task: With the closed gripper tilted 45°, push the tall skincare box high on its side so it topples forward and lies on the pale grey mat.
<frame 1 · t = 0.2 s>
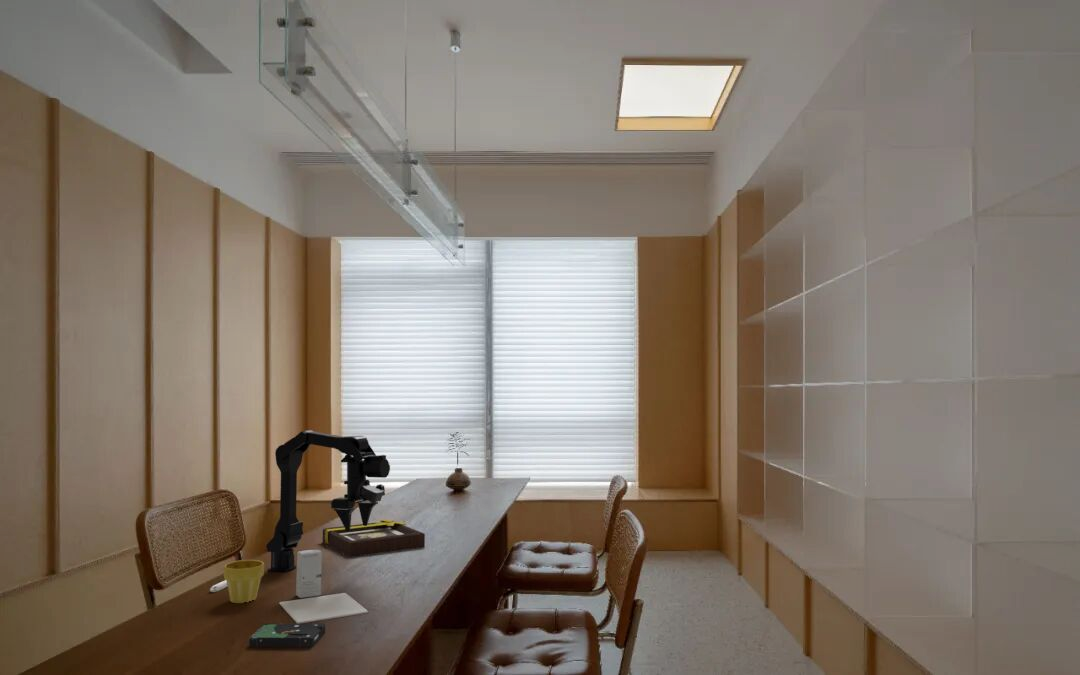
hand: (356, 528, 238), 15 cm above the table, tool pointing down, fingers open, 9 cm apart
marker: (228, 586, 228), on the table
plant pot: (243, 600, 213), on the table
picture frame: (374, 546, 284), on the table
disk drive: (287, 642, 181), on the table
skincare box: (308, 595, 218), on the table
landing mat: (322, 608, 205), on the table
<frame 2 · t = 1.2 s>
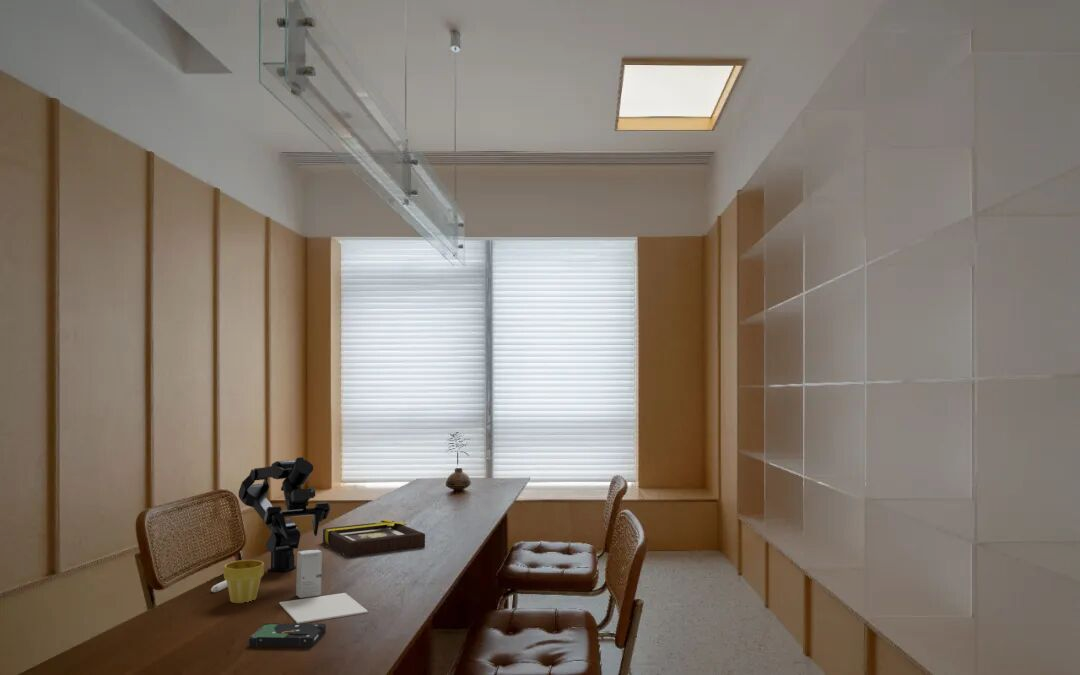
hand: (302, 536, 232), 13 cm above the table, tool tilted 45°, fingers open, 8 cm apart
nothing on the table moved.
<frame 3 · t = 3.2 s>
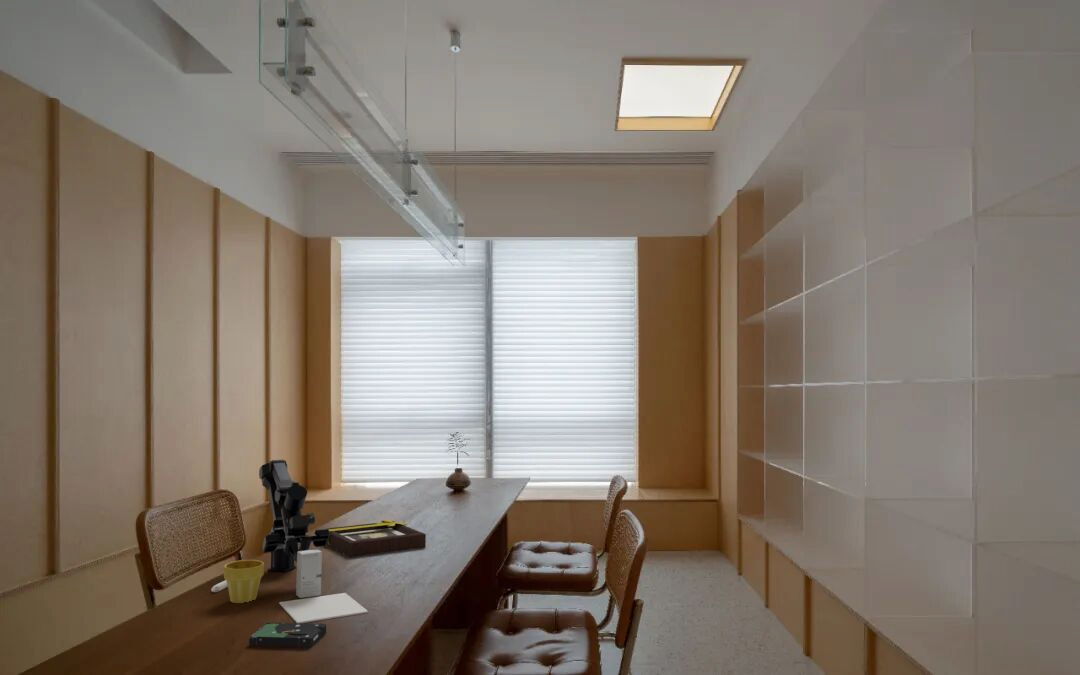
hand: (301, 564, 225), 7 cm above the table, tool tilted 45°, fingers closed
nothing on the table moved.
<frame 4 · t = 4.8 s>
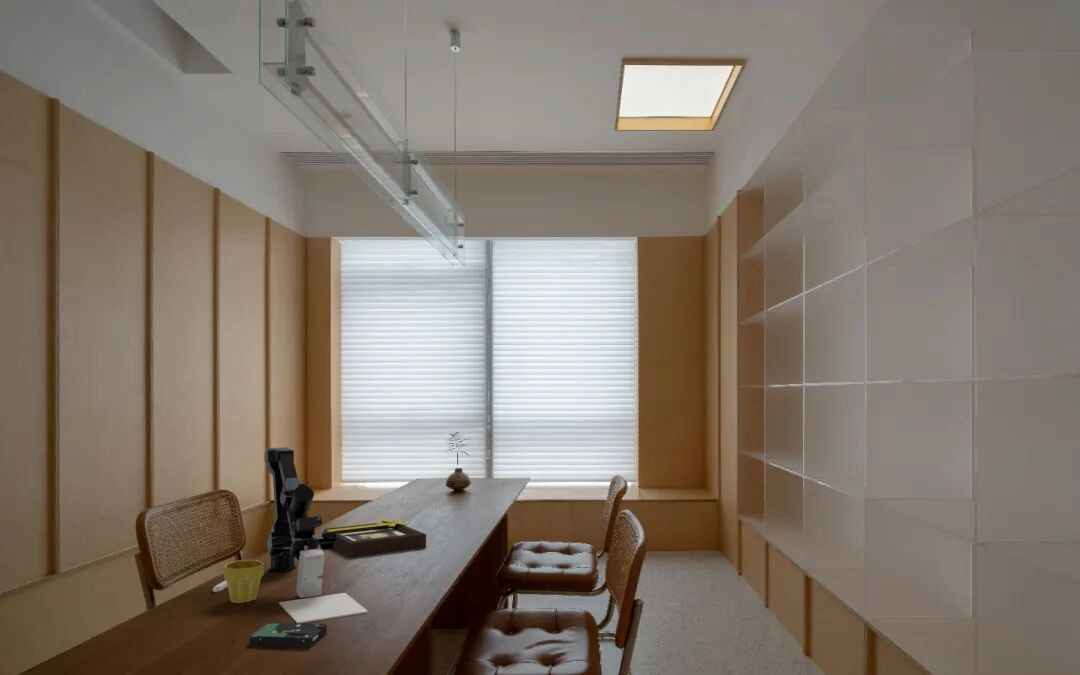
hand: (308, 568, 219), 7 cm above the table, tool tilted 45°, fingers closed, pressing on skincare box
skincare box: (308, 593, 218), on the table, touching gripper
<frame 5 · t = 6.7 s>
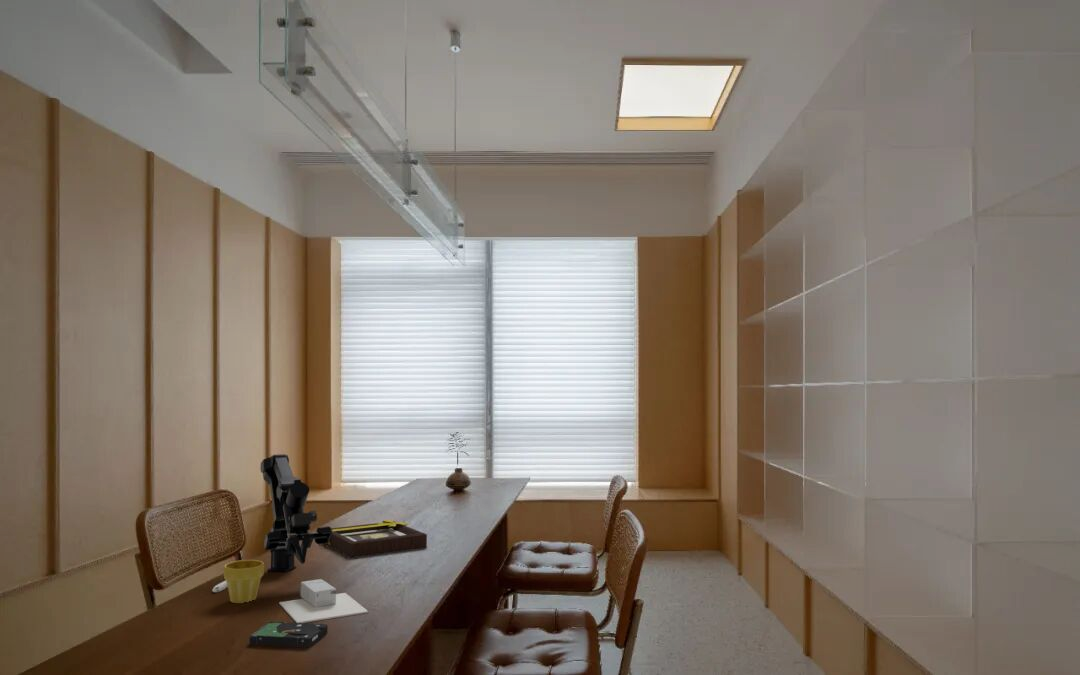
hand: (303, 562, 224), 8 cm above the table, tool tilted 45°, fingers closed
skincare box: (311, 586, 216), point 3 cm above the table, touching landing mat
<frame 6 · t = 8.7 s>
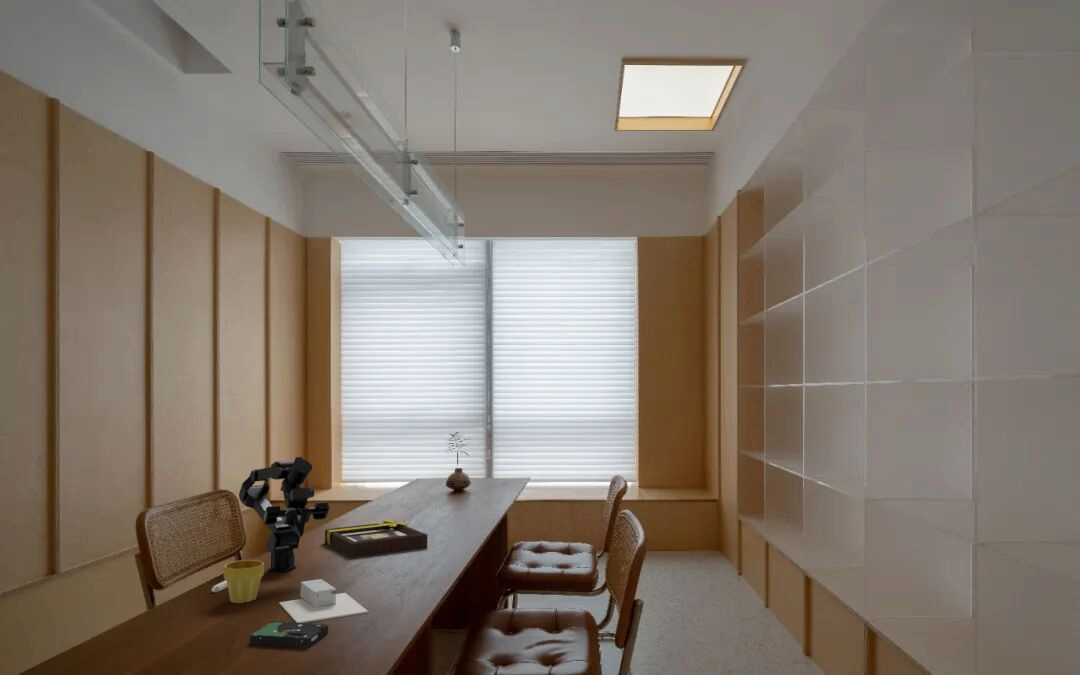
hand: (301, 535, 232), 14 cm above the table, tool tilted 45°, fingers closed
at the end: skincare box tilted 92°; skincare box touching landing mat; skincare box inside the target area (2.3 cm from its centre), point 2.7 cm above the table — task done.
